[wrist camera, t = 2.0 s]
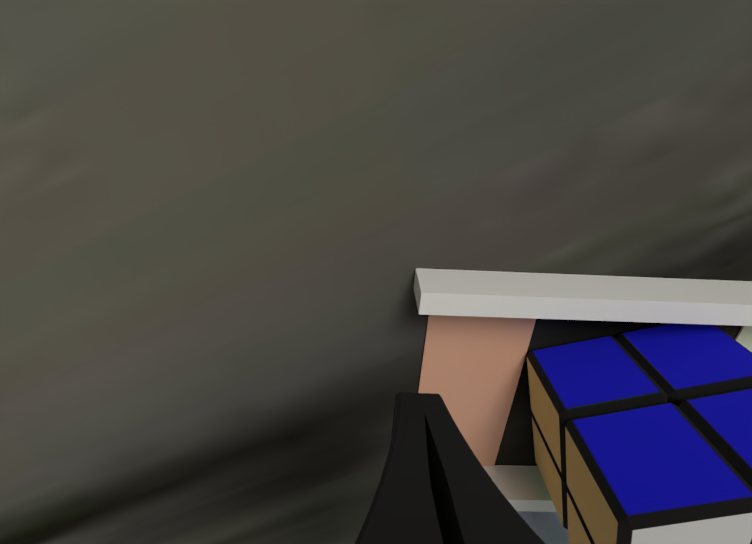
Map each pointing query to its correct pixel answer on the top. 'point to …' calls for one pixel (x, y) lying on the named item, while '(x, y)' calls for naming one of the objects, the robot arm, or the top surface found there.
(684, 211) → the top surface
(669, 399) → the puzzle cube
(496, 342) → the trap channel
